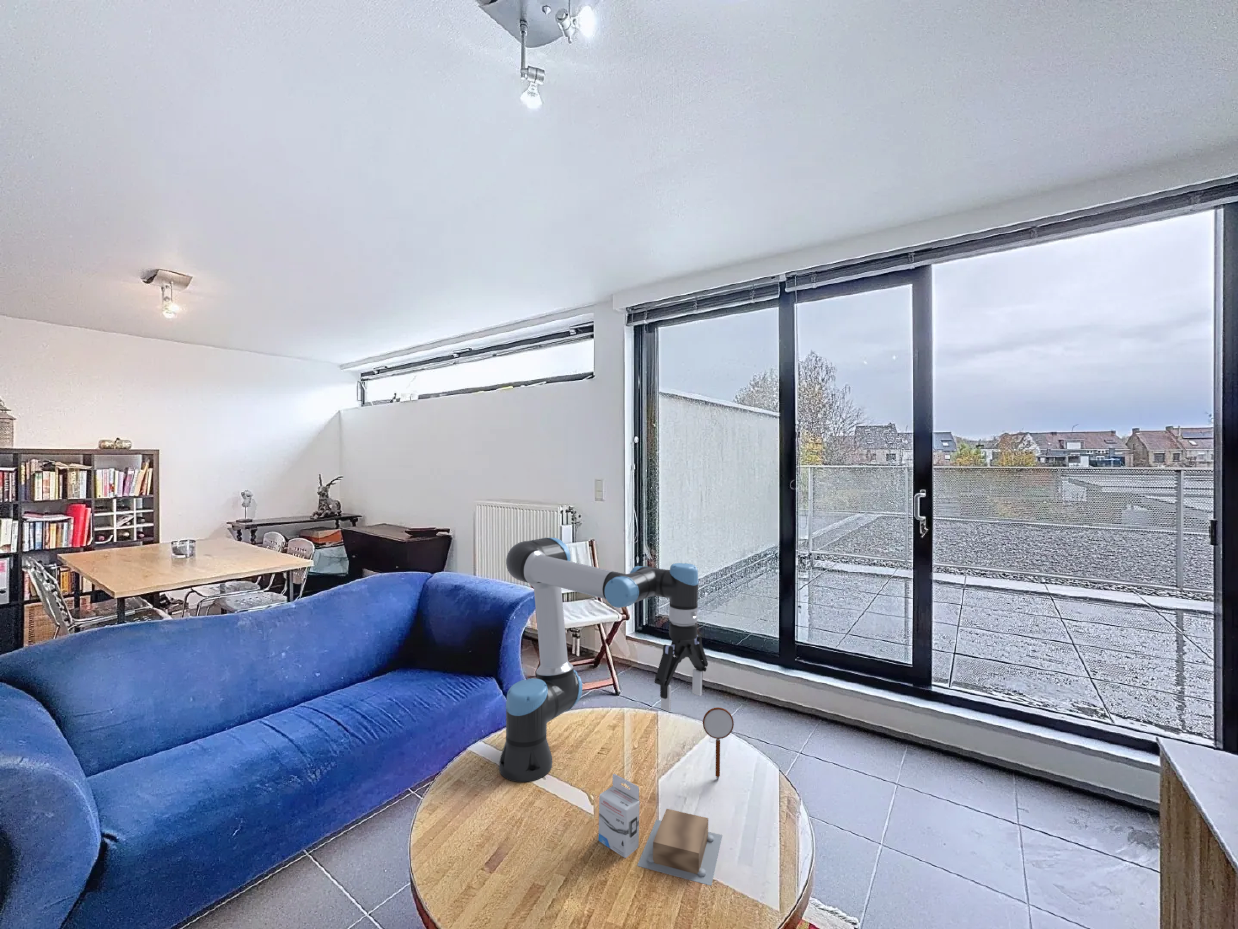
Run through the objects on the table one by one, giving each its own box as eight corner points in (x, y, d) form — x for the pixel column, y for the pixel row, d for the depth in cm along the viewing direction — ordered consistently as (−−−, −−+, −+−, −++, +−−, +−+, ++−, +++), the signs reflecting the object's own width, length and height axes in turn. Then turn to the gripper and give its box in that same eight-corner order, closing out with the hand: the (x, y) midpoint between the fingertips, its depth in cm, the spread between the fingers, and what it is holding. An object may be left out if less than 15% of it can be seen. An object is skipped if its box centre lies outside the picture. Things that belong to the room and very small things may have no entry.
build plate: (636, 871, 114) (637, 863, 114) (656, 824, 129) (656, 817, 129) (711, 891, 108) (711, 883, 108) (722, 840, 124) (722, 833, 124)
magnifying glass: (732, 778, 149) (733, 706, 149) (733, 781, 147) (734, 709, 147) (701, 777, 149) (702, 705, 149) (702, 780, 147) (703, 708, 148)
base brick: (652, 862, 115) (653, 842, 115) (666, 827, 126) (666, 808, 126) (698, 874, 111) (698, 853, 111) (708, 837, 123) (708, 818, 123)
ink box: (597, 845, 121) (598, 781, 122) (611, 834, 125) (612, 772, 125) (625, 864, 116) (626, 796, 116) (639, 852, 119) (640, 786, 120)
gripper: (664, 635, 130) (662, 722, 130) (721, 616, 148) (720, 692, 147) (641, 628, 135) (640, 711, 135) (699, 611, 153) (698, 684, 153)
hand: (681, 702), depth 141 cm, fingers open, 13 cm apart
